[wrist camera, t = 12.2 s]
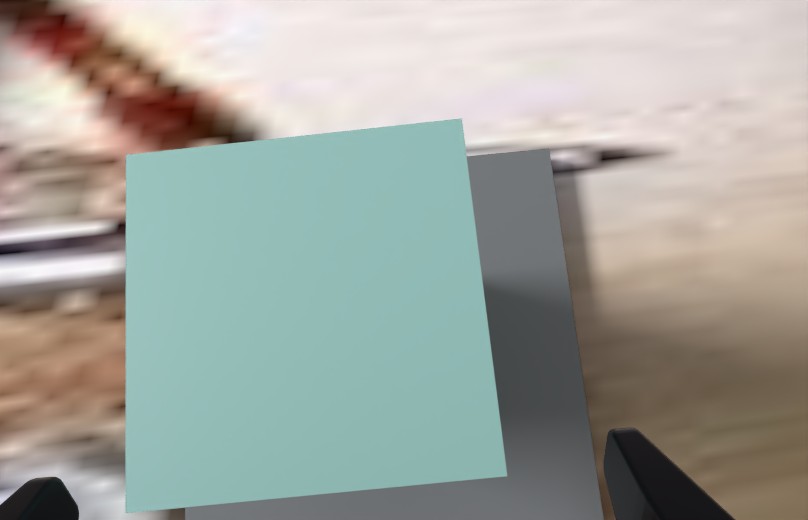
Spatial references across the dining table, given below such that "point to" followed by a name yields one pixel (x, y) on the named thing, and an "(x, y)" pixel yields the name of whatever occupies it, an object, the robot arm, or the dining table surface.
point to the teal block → (305, 319)
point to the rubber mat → (498, 375)
